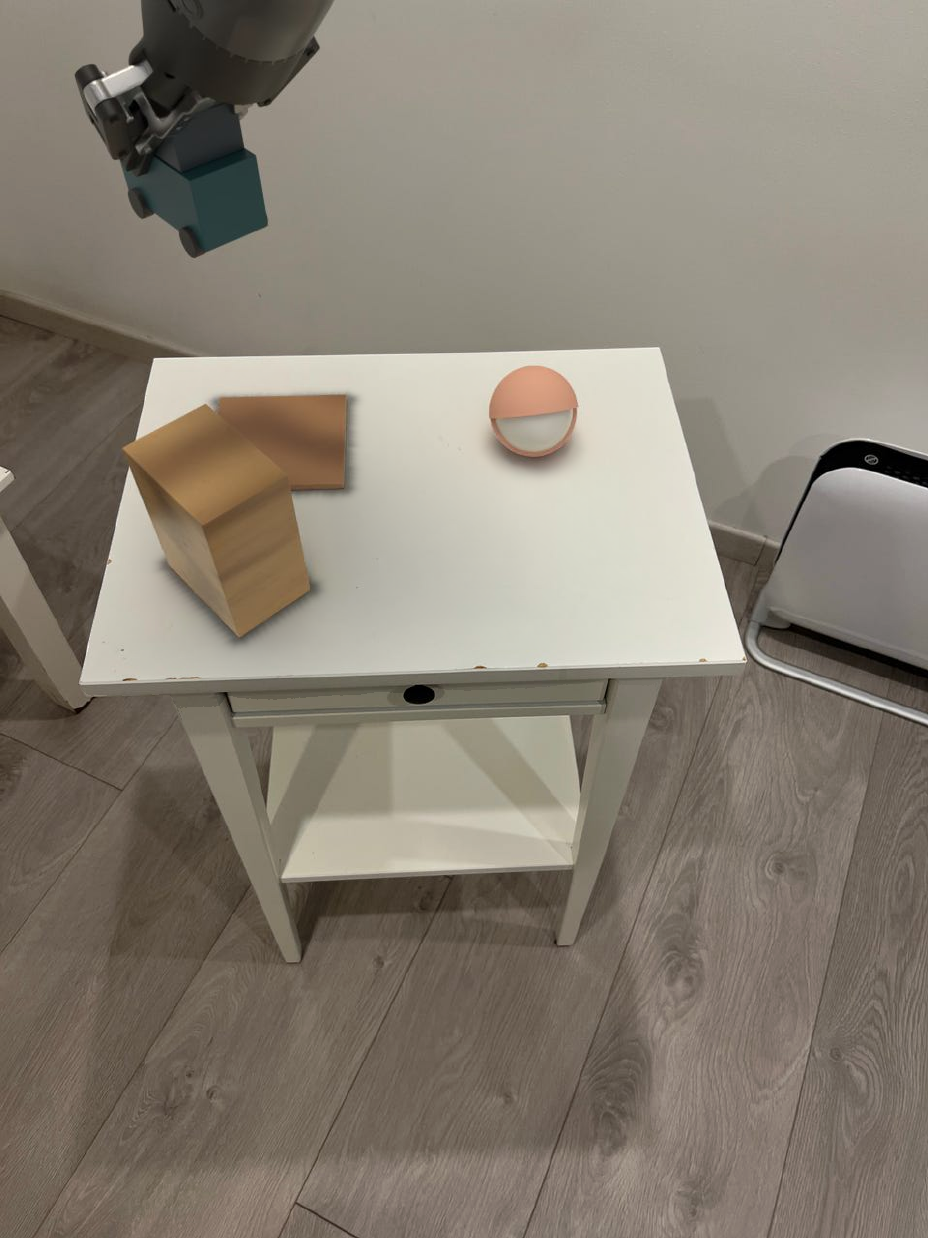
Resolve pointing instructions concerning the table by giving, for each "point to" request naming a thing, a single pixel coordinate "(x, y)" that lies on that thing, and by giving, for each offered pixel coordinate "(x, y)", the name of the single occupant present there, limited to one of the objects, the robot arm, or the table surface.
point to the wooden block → (221, 517)
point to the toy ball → (533, 411)
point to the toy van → (203, 183)
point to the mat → (295, 434)
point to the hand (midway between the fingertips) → (168, 145)
